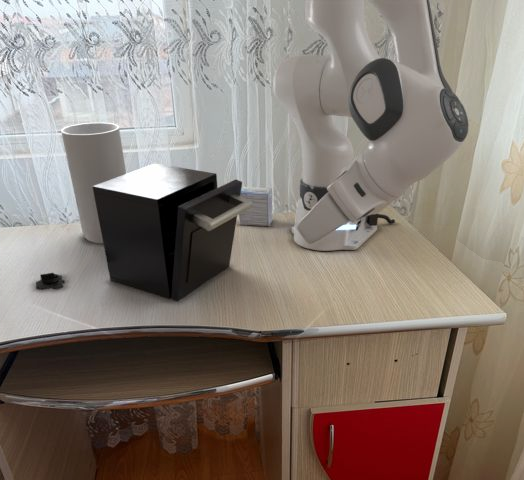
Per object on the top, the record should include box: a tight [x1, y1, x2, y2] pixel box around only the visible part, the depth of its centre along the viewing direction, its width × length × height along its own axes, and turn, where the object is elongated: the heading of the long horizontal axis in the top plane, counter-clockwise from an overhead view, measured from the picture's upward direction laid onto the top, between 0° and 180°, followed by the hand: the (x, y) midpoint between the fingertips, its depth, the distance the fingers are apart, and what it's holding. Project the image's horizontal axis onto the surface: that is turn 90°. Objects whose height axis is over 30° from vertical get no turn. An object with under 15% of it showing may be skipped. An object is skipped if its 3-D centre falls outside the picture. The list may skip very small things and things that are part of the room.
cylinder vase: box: [60, 122, 127, 244], centre depth 127 cm, size 12×12×25 cm
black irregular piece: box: [35, 272, 65, 291], centre depth 111 cm, size 6×2×6 cm
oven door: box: [170, 178, 253, 302], centre depth 104 cm, size 6×18×20 cm, turn 148°
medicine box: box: [238, 186, 273, 227], centre depth 137 cm, size 8×4×9 cm, turn 77°
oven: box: [92, 163, 218, 300], centre depth 110 cm, size 16×18×20 cm
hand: (310, 232), depth 92 cm, fingers closed
